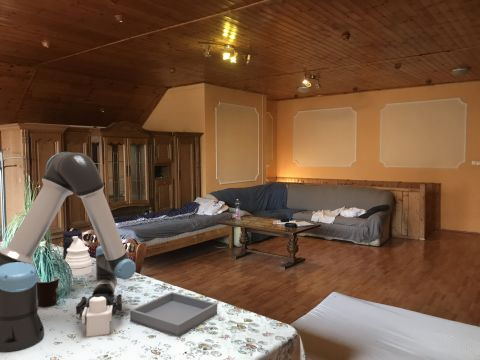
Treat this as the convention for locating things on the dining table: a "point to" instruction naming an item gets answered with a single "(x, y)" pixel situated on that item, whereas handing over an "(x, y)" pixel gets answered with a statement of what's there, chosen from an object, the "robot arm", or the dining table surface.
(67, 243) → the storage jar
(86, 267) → the honey pot
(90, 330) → the medicine bottle
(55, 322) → the dining table surface
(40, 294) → the brown plant pot
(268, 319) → the dining table surface
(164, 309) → the box
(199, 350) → the dining table surface
